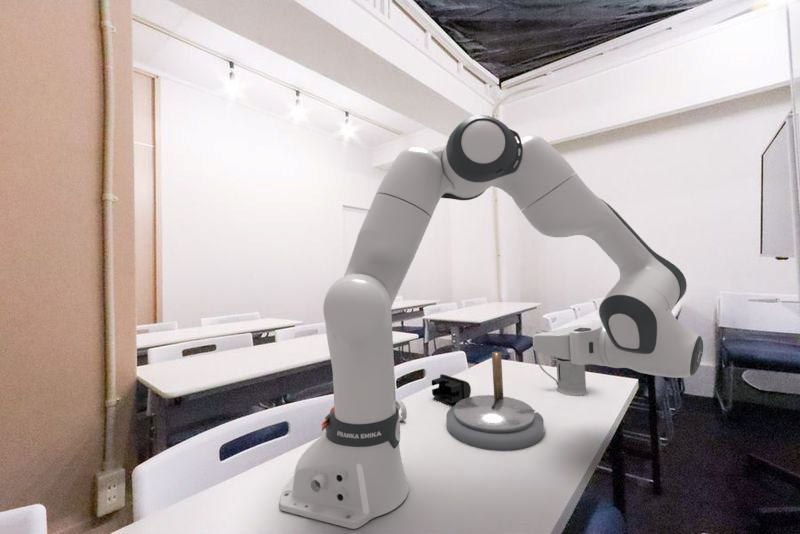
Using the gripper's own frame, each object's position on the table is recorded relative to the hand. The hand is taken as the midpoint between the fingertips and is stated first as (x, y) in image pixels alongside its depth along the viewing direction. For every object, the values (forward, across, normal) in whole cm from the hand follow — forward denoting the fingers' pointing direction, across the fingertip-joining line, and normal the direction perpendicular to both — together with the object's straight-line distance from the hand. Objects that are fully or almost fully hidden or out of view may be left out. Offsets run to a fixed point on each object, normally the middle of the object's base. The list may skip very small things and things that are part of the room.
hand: (539, 334), depth 82 cm
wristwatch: (+27, +22, +24) cm, 43 cm away
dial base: (+9, +7, +23) cm, 26 cm away
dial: (+9, +7, +20) cm, 23 cm away
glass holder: (+12, -29, +23) cm, 38 cm away
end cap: (+29, +2, +23) cm, 37 cm away
